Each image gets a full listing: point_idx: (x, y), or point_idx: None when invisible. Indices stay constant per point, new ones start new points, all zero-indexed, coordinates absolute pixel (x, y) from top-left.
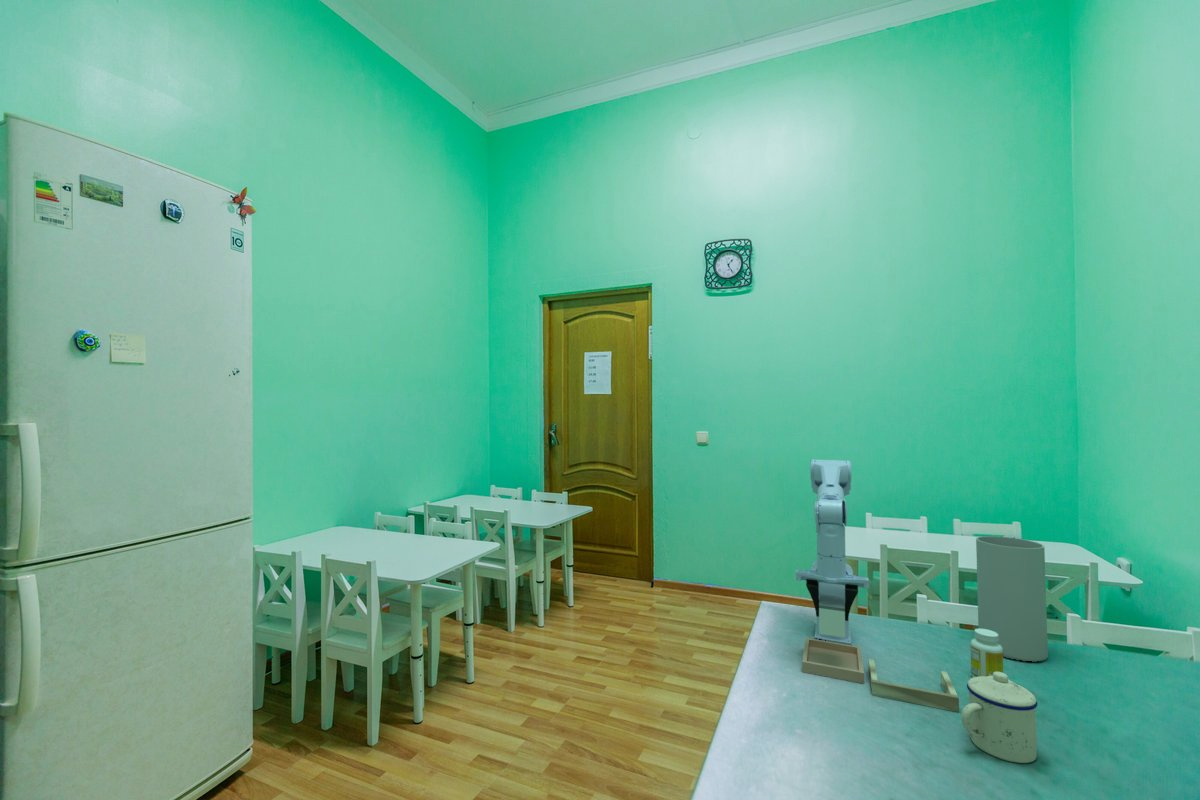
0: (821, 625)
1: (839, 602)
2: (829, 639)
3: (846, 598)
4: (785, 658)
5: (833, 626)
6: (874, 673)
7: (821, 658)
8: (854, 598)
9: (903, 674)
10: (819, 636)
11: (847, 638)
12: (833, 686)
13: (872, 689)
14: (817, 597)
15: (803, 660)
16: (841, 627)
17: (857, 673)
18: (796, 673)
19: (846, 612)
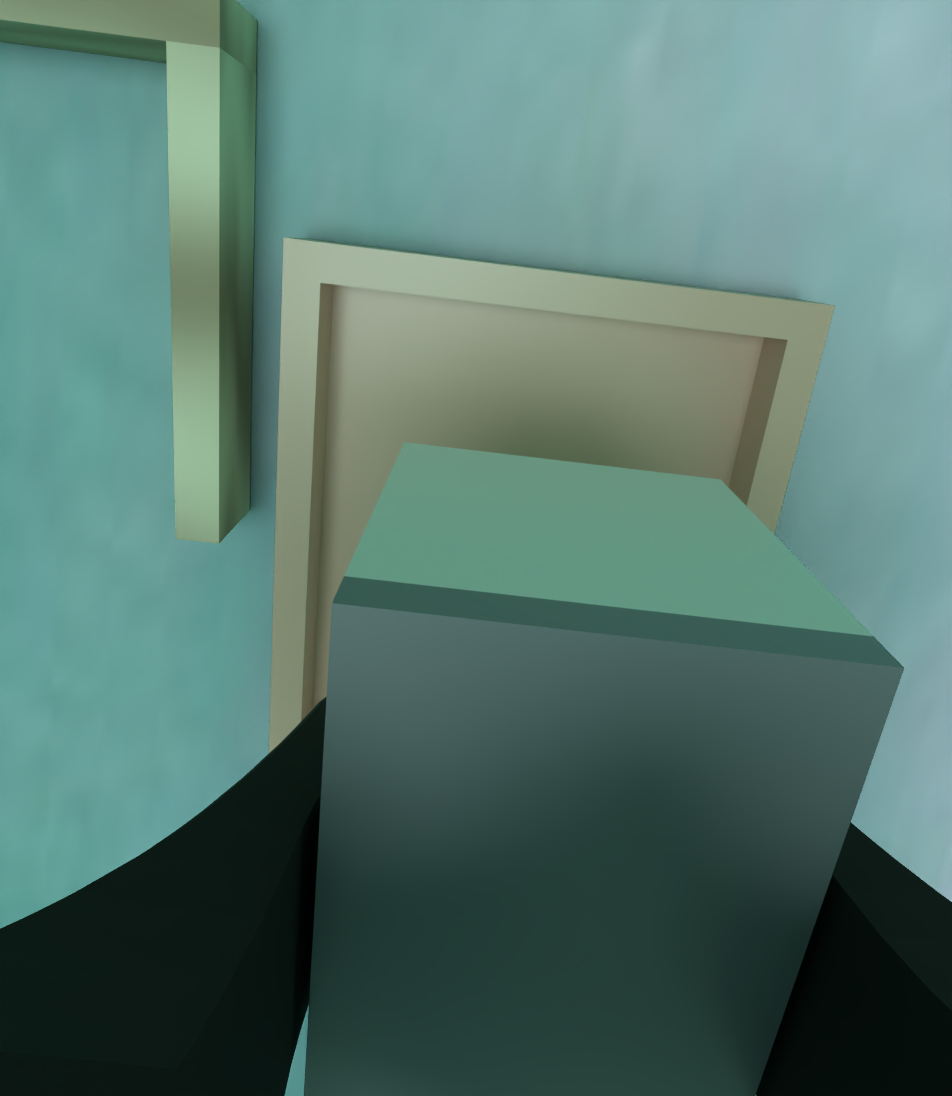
0: (723, 510)
1: (408, 940)
2: None
3: (230, 922)
4: (889, 527)
5: (553, 497)
6: (186, 214)
7: None
8: (12, 926)
9: (2, 524)
10: None
11: None
12: (572, 88)
13: (240, 9)
14: (913, 947)
15: (816, 340)
16: (440, 480)
17: (343, 244)
18: (858, 254)
19: (315, 753)
